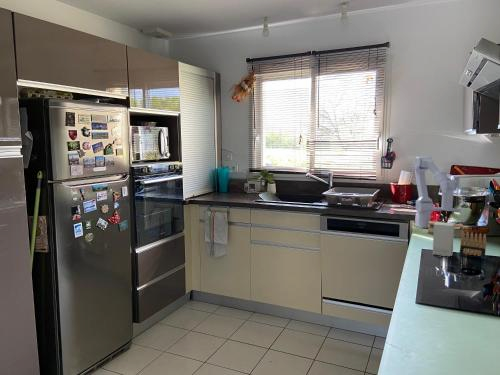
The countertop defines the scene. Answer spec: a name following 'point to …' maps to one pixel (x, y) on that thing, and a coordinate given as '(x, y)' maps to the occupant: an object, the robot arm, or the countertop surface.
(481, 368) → the countertop surface
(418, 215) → the robot arm
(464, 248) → the ammunition clip
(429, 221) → the lid
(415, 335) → the countertop surface
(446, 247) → the skincare box
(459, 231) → the storage box
